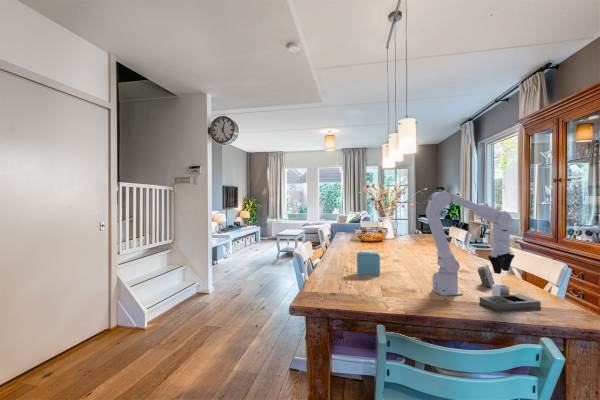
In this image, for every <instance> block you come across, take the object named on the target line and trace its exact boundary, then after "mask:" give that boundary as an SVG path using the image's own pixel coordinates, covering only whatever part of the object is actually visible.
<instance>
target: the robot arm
mask: <svg viewBox="0 0 600 400" xmlns="http://www.w3.org/2000/svg"><path fill="white" fill-rule="evenodd" d="M448 205H449V206H450V205H457V206H460V207H461V208H465V209H467V210H469V211H472V212H473V213H474V215H475V216H476V217H479V218H481V219H484V220H487V221H489V222H491V224H492V251H490V255H487V259H488V260H489V261H490V264H491V266H492V269H493V273H494V274H498V275H501V274H502V271H504V272H509V271H510V267H511V264H512V261H513V259H514V258H515V254H514V251H512V248H511V247H510V245H511V244H510V240H511V239H510V237H511V236H510V234H511V233H510V232H511V229H510V226H511V224H512V223H513V221H514V218H512V216H511V214H510V213H509V212H506V211H501V209H500V208H495V207H493V206H490V204H489V203H487V202H484V203H483V202H481V203H475V202H473V201H470V200H468V199H466V198H464V197H463V196H462V197H461V196H460V195H457V194H455V193H452V192H448V191H443V190H442V191H435V192H433V193H432V194H431V195H430V196H429V197H428V201H427V205H426V209H425V216H426V220H427V222H428V225H429V229H430V232H431V235H432V239H433V241H434V244H435V247H436V250H437V252H436V254H437V255H436V256H437V265H438V266H439V269H438V271H437V272H434V273H433V274H432V288H431V290H432V291H433V292H435V293H437V294H438V295H441V296H443V297H444V296H446V297H447V296H456V295H457V296H458V295H459V296H460V295H464V294H463V292H461V291H459V282H458V281H459V279H458V278H459V277H458V276H459V275H458V273H459V270H460V266H461V265H460V262H459V261H458V259H456V257H455V255H454V253H453V252H452V250H451V248H450V245H449V242H448V238H447V235H446V232H445V229H444V226H443V224H442V220H441V217H440V214H441V212H442V211H443V210H444V209H445V208H446V207H448Z"/></svg>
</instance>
